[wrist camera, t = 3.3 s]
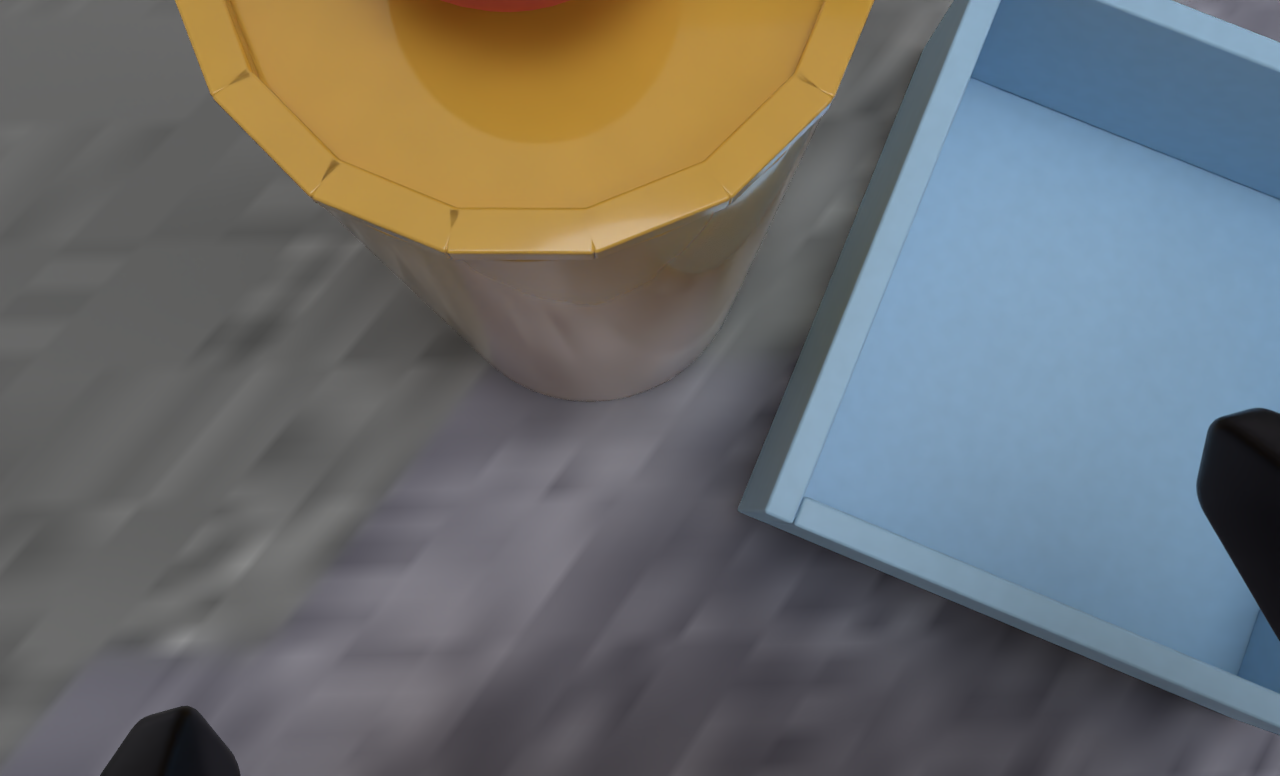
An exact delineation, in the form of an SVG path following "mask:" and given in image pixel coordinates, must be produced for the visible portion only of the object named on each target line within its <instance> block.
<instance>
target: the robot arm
mask: <svg viewBox="0 0 1280 776" xmlns="http://www.w3.org/2000/svg"><path fill="white" fill-rule="evenodd" d="M1196 491H1197V497H1198V501H1199V503H1200V506H1201V508H1202V510H1203V512H1204V514H1205V516H1206V518H1207V519H1208V521H1209V523H1210V524H1211V526H1212V528H1213V529H1214V531H1215V533H1216V535H1217V536H1218V538H1219V540H1220V541H1221V543H1222V545H1223V546H1224V548H1225V550H1226V552H1227V553H1228V555H1229V557H1230V558H1231V560H1232V562H1233V563H1234V565H1235V567H1236V569H1237V570H1238V572H1239V574H1240V575H1241V577H1242V579H1243V580H1244V582H1245V584H1246V586H1247V587H1248V589H1249V591H1250V592H1251V594H1252V596H1253V597H1254V599H1255V601H1256V603H1257V604H1258V606H1259V608H1260V609H1261V611H1262V613H1263V614H1264V616H1265V618H1266V619H1267V621H1268V623H1269V625H1270V626H1271V628H1272V630H1273V631H1274V633H1275V635H1276V636H1277V638H1278V639H1279V641H1280V413H1278V412H1275V411H1272V410H1269V409H1266V408H1251V409H1247V410H1243V411H1240V412H1236V413H1232V414H1229V415H1225V416H1222V417H1219V418H1217V419H1215V420H1214V421H1213V422H1212V423H1211V425H1210V426H1209V428H1208V431H1207V435H1206V439H1205V444H1204V449H1203V453H1202V458H1201V462H1200V467H1199V471H1198V476H1197V481H1196ZM100 776H240V770H239V767H238V764H237V761H236V759H235V757H234V755H233V754H232V752H231V751H230V749H229V748H228V747H227V746H226V745H225V743H224V742H223V741H222V740H221V738H220V737H219V736H218V735H217V733H216V732H215V731H214V730H213V729H212V727H211V726H210V725H209V724H208V722H207V721H206V720H205V719H204V717H203V716H202V715H201V714H200V713H199V712H198V711H197V710H196V709H194V708H192V707H189V706H181V707H177V708H174V709H170V710H166V711H163V712H159V713H156V714H152V715H149V716H147V717H144V718H143V719H141V720H140V721H139V722H138V723H137V724H136V725H135V726H134V727H133V728H132V729H131V731H130V732H129V734H128V735H127V737H126V738H125V740H124V741H123V743H122V744H121V745H120V747H119V748H118V750H117V751H116V753H115V754H114V756H113V757H112V759H111V760H110V762H109V763H108V764H107V766H106V767H105V769H104V770H103V772H102V773H101V775H100Z"/></svg>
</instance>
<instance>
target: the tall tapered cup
mask: <svg viewBox="0 0 1280 776" xmlns="http://www.w3.org/2000/svg"><path fill="white" fill-rule="evenodd" d="M874 1H875V0H569V1H566V2H564V3H561V4H558V5H555V6H551V7H546V8H541V9H537V10H531V11H519V12H493V11H484V10H478V9H472V8H466V7H461V6H457V5H454V4H451V3H448V2H444V1H441V0H175V2H176V5H177V8H178V10H179V13H180V16H181V18H182V21H183V23H184V26H185V29H186V31H187V34H188V37H189V39H190V42H191V45H192V47H193V50H194V52H195V55H196V58H197V60H198V63H199V66H200V68H201V71H202V74H203V76H204V79H205V81H206V84H207V87H208V89H209V92H210V95H211V96H212V97H213V98H214V100H215V102H216V103H217V104H218V105H219V106H220V107H221V108H222V109H223V110H224V111H225V112H226V113H227V114H228V115H229V116H230V117H231V118H232V119H233V120H234V121H235V122H236V123H237V124H238V125H239V126H240V127H241V128H242V129H243V130H244V131H245V132H246V133H247V134H248V135H249V136H250V137H251V138H252V139H253V140H254V141H255V142H256V143H257V144H258V145H259V146H260V147H261V148H262V149H263V150H264V151H265V152H266V153H267V154H268V155H269V156H270V157H271V158H272V159H273V160H274V161H275V162H276V163H277V164H278V165H279V166H280V167H281V168H282V170H283V171H284V172H285V173H286V174H287V175H288V176H289V177H290V178H291V179H292V180H293V181H294V182H295V183H296V184H297V185H298V186H299V187H300V188H301V189H302V190H303V191H304V192H305V193H306V194H307V195H308V196H309V197H310V198H311V199H312V200H313V201H314V202H316V203H318V204H319V205H320V206H322V207H324V208H325V209H326V210H327V211H328V212H329V213H331V214H332V215H333V216H334V217H335V218H336V219H337V220H338V221H339V222H340V223H341V224H342V225H343V226H344V227H345V228H346V229H347V230H348V231H350V232H351V233H352V234H353V235H354V236H355V237H356V238H357V239H358V240H359V241H360V242H361V243H362V244H363V245H364V246H365V247H366V248H368V249H369V250H370V251H371V252H372V253H373V254H374V255H375V256H376V257H377V258H378V259H379V260H380V261H381V262H382V263H383V264H384V265H385V266H387V267H388V268H389V269H390V270H391V271H392V272H393V273H394V274H395V275H396V276H397V277H398V278H399V279H400V280H401V281H402V282H403V283H405V284H406V285H407V286H408V287H409V288H410V289H411V290H412V291H413V292H414V293H415V294H416V295H417V296H418V297H419V298H420V299H421V300H422V301H424V302H425V303H426V304H427V305H428V306H429V307H430V308H431V309H432V310H433V311H434V312H435V313H436V314H437V315H438V316H439V317H440V318H442V319H443V320H444V321H445V322H446V323H447V324H448V325H449V326H450V327H451V328H452V329H453V330H454V331H455V332H456V333H457V334H458V335H459V336H461V337H462V338H463V339H464V340H465V341H466V342H467V343H468V344H469V345H470V346H471V347H472V348H473V349H474V350H475V351H476V352H477V353H479V354H480V355H481V356H482V357H483V358H484V359H485V360H486V361H487V362H488V363H490V364H491V365H492V366H493V367H494V368H495V369H496V370H498V371H499V372H501V373H502V374H504V375H505V376H507V377H508V378H509V379H511V380H512V381H514V382H516V383H518V384H520V385H522V386H524V387H526V388H528V389H530V390H533V391H536V392H539V393H542V394H544V395H547V396H550V397H555V398H560V399H565V400H571V401H586V402H594V401H610V400H615V399H620V398H625V397H630V396H633V395H636V394H639V393H642V392H645V391H648V390H650V389H652V388H654V387H656V386H658V385H660V384H663V383H665V382H667V381H668V380H670V379H671V378H673V377H674V376H676V375H677V374H679V373H680V372H682V371H683V370H684V369H686V368H687V367H688V366H689V365H690V364H691V363H692V362H694V361H695V360H696V359H697V358H698V357H699V356H700V355H701V354H702V353H703V351H704V350H705V349H706V348H707V347H708V346H709V345H710V344H711V342H712V341H713V339H714V338H715V336H716V335H717V333H718V332H719V330H720V329H721V327H722V326H723V324H724V322H725V320H726V318H727V316H728V314H729V312H730V310H731V307H732V305H733V303H734V301H735V299H736V297H737V295H738V293H739V291H740V288H741V286H742V284H743V282H744V280H745V278H746V276H747V274H748V272H749V269H750V267H751V265H752V263H753V261H754V259H755V257H756V255H757V253H758V250H759V248H760V246H761V244H762V242H763V240H764V238H765V236H766V234H767V231H768V229H769V227H770V225H771V223H772V221H773V219H774V217H775V215H776V212H777V210H778V208H779V206H780V204H781V202H782V200H783V198H784V196H785V193H786V191H787V189H788V187H789V185H790V183H791V181H792V179H793V177H794V174H795V172H796V170H797V168H798V166H799V164H800V162H801V160H802V158H803V155H804V153H805V151H806V149H807V147H808V145H809V143H810V141H811V139H812V136H813V134H814V132H815V130H816V128H817V126H818V124H819V122H820V120H821V117H822V115H823V114H824V113H825V112H826V111H827V110H828V108H829V107H830V106H831V104H832V102H833V100H834V98H835V96H836V93H837V91H838V88H839V86H840V84H841V81H842V79H843V76H844V74H845V71H846V69H847V67H848V64H849V62H850V59H851V57H852V54H853V52H854V50H855V47H856V45H857V42H858V40H859V37H860V35H861V33H862V30H863V28H864V25H865V23H866V20H867V18H868V16H869V13H870V11H871V8H872V6H873V3H874Z"/></svg>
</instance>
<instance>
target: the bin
mask: <svg viewBox="0 0 1280 776" xmlns="http://www.w3.org/2000/svg"><path fill="white" fill-rule="evenodd" d="M1251 408H1266V409H1269V410H1272V411H1275V412H1278V413H1280V42H1277V41H1275V40H1272V39H1270V38H1267V37H1265V36H1262V35H1259V34H1257V33H1254V32H1252V31H1249V30H1247V29H1244V28H1241V27H1239V26H1236V25H1234V24H1231V23H1229V22H1226V21H1223V20H1221V19H1218V18H1216V17H1213V16H1211V15H1208V14H1205V13H1203V12H1200V11H1198V10H1195V9H1193V8H1190V7H1187V6H1185V5H1182V4H1180V3H1177V2H1175V1H1172V0H954V1H953V3H952V4H951V6H950V8H949V9H948V11H947V12H946V14H945V16H944V17H943V19H942V20H941V22H940V24H939V25H938V27H937V28H936V30H935V31H934V33H933V35H932V36H931V38H930V40H929V41H928V43H927V44H926V46H925V47H924V49H923V51H922V54H921V56H920V59H919V61H918V64H917V66H916V69H915V71H914V74H913V76H912V79H911V81H910V83H909V86H908V88H907V91H906V93H905V96H904V98H903V101H902V103H901V106H900V108H899V111H898V113H897V116H896V118H895V121H894V123H893V126H892V128H891V130H890V133H889V135H888V138H887V140H886V143H885V145H884V148H883V150H882V153H881V155H880V158H879V160H878V163H877V165H876V168H875V170H874V173H873V175H872V178H871V180H870V182H869V185H868V187H867V190H866V192H865V195H864V197H863V200H862V202H861V205H860V207H859V210H858V212H857V215H856V217H855V220H854V222H853V225H852V227H851V229H850V232H849V234H848V237H847V239H846V242H845V244H844V247H843V249H842V252H841V254H840V257H839V259H838V262H837V264H836V267H835V269H834V272H833V274H832V276H831V279H830V281H829V284H828V286H827V289H826V291H825V294H824V296H823V299H822V301H821V304H820V306H819V309H818V311H817V314H816V316H815V319H814V321H813V324H812V326H811V328H810V331H809V333H808V336H807V338H806V341H805V343H804V346H803V348H802V351H801V353H800V356H799V358H798V361H797V363H796V366H795V368H794V371H793V373H792V375H791V378H790V380H789V383H788V385H787V388H786V390H785V393H784V395H783V398H782V400H781V403H780V405H779V408H778V410H777V413H776V415H775V418H774V420H773V422H772V425H771V427H770V430H769V432H768V435H767V437H766V440H765V442H764V445H763V447H762V450H761V452H760V455H759V457H758V460H757V462H756V465H755V467H754V469H753V472H752V474H751V477H750V479H749V482H748V484H747V487H746V489H745V492H744V494H743V497H742V499H741V502H740V504H739V507H738V511H739V512H740V513H743V514H745V515H748V516H750V517H752V518H755V519H757V520H760V521H762V522H764V523H767V524H769V525H772V526H774V527H776V528H779V529H781V530H783V531H786V532H788V533H791V534H793V535H795V536H798V537H800V538H803V539H805V540H807V541H810V542H812V543H815V544H817V545H819V546H822V547H824V548H827V549H829V550H831V551H834V552H836V553H838V554H841V555H843V556H846V557H848V558H850V559H853V560H855V561H858V562H860V563H862V564H865V565H867V566H870V567H872V568H874V569H877V570H879V571H881V572H884V573H886V574H889V575H891V576H893V577H896V578H898V579H901V580H903V581H905V582H908V583H910V584H913V585H915V586H917V587H920V588H922V589H924V590H927V591H929V592H932V593H934V594H936V595H939V596H941V597H944V598H946V599H948V600H951V601H953V602H956V603H958V604H960V605H963V606H965V607H967V608H970V609H972V610H975V611H977V612H979V613H982V614H984V615H987V616H989V617H991V618H994V619H996V620H999V621H1001V622H1003V623H1006V624H1008V625H1010V626H1013V627H1015V628H1018V629H1020V630H1022V631H1025V632H1027V633H1030V634H1032V635H1034V636H1037V637H1039V638H1042V639H1044V640H1046V641H1049V642H1051V643H1053V644H1056V645H1058V646H1061V647H1063V648H1065V649H1068V650H1070V651H1073V652H1075V653H1077V654H1080V655H1082V656H1085V657H1087V658H1089V659H1092V660H1094V661H1096V662H1099V663H1101V664H1104V665H1106V666H1108V667H1111V668H1113V669H1116V670H1118V671H1120V672H1123V673H1125V674H1128V675H1130V676H1132V677H1135V678H1137V679H1139V680H1142V681H1144V682H1147V683H1149V684H1151V685H1154V686H1156V687H1159V688H1161V689H1163V690H1166V691H1168V692H1171V693H1173V694H1175V695H1178V696H1180V697H1182V698H1185V699H1187V700H1190V701H1192V702H1194V703H1197V704H1199V705H1202V706H1204V707H1206V708H1209V709H1211V710H1214V711H1216V712H1218V713H1221V714H1223V715H1225V716H1228V717H1230V718H1233V719H1236V720H1238V721H1241V722H1244V723H1247V724H1249V725H1252V726H1255V727H1258V728H1261V729H1263V730H1266V731H1269V732H1272V733H1275V734H1277V735H1280V641H1279V639H1278V638H1277V636H1276V635H1275V633H1274V631H1273V630H1272V628H1271V626H1270V625H1269V623H1268V621H1267V619H1266V618H1265V616H1264V614H1263V613H1262V611H1261V609H1260V608H1259V606H1258V604H1257V603H1256V601H1255V599H1254V597H1253V596H1252V594H1251V592H1250V591H1249V589H1248V587H1247V586H1246V584H1245V582H1244V580H1243V579H1242V577H1241V575H1240V574H1239V572H1238V570H1237V569H1236V567H1235V565H1234V563H1233V562H1232V560H1231V558H1230V557H1229V555H1228V553H1227V552H1226V550H1225V548H1224V546H1223V545H1222V543H1221V541H1220V540H1219V538H1218V536H1217V535H1216V533H1215V531H1214V529H1213V528H1212V526H1211V524H1210V523H1209V521H1208V519H1207V518H1206V516H1205V514H1204V512H1203V510H1202V508H1201V506H1200V503H1199V501H1198V497H1197V491H1196V481H1197V476H1198V471H1199V467H1200V462H1201V458H1202V453H1203V449H1204V444H1205V439H1206V435H1207V431H1208V428H1209V426H1210V425H1211V423H1212V422H1213V421H1214V420H1215V419H1217V418H1219V417H1222V416H1225V415H1229V414H1232V413H1236V412H1240V411H1243V410H1247V409H1251Z"/></svg>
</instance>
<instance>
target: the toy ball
mask: <svg viewBox="0 0 1280 776" xmlns="http://www.w3.org/2000/svg"><path fill="white" fill-rule="evenodd" d="M441 1H444V2H448V3H451V4H454V5H457V6H461V7H466V8H472V9H478V10H484V11H493V12H519V11H531V10H537V9H541V8H546V7H551V6H555V5H558V4H561V3H564V2H566V1H569V0H441Z"/></svg>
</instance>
